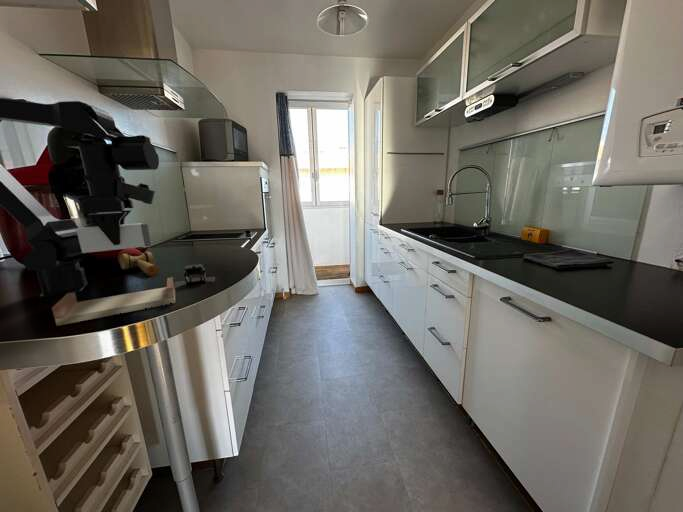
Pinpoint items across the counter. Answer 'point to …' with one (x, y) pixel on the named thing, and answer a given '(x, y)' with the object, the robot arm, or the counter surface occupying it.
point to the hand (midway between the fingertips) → (118, 243)
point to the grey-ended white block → (98, 241)
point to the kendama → (137, 260)
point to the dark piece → (194, 281)
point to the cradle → (111, 304)
